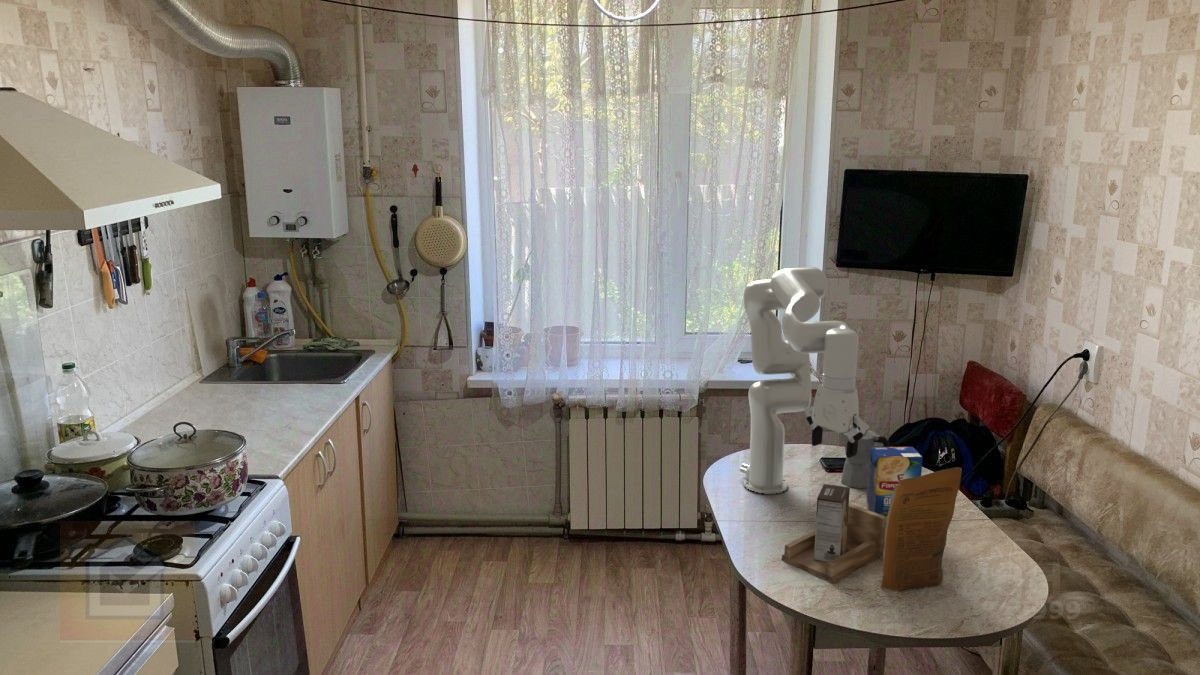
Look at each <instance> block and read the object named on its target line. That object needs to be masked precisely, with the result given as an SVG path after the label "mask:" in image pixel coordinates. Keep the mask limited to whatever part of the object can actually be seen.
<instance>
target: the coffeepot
mask: <svg viewBox="0 0 1200 675" xmlns="http://www.w3.org/2000/svg"><path fill="white" fill-rule="evenodd" d="M857 431H858V433H859V431H860V427H859V426H858V427H857ZM839 434H840V436H841V438H842V440H843V442H844V449H845V450H844V451H845V453H846V452H847V442H848V441H850V440H849V438H848V437H847V435H846V433H839ZM852 434H853V433H852ZM853 436H854V435H853ZM875 443H882V444H883V445H882V447H891V443H890V441H889V440H888V439H887V438H886V436H883V435H880V434H877V433H876V432H875V431H874V430H873V431H872V430H870V429H869V430H868V431H867V433H866V435H865V436H864V437H863V438H861V439H860V440H858V450H857V454H856V455H855V456H853V457H851V458H847V457H845V462H844V466H843V469H842V474H841V478H840V482H841V483H842V484H843V485H845V486H846V485H847V486H846V487H850V488H853V487H854V489H865V488H866V489H867V487H868V473H869V459H870V447H875V446H874V445H875Z"/></svg>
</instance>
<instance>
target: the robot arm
mask: <svg viewBox="0 0 1200 675" xmlns="http://www.w3.org/2000/svg"><path fill="white" fill-rule="evenodd" d="M825 274H826V273H824V272H823V270H821V268H818V267H814V266H813V267H812V266H809V267H787V268H783V269H780V270H777V271H776V272H774V273H773V275H772V276H771V278H769V279H768V278H767V279H759V280H754V281H751V282H749V283H748V284H747V285H746V287H745V289H744V292H743V305H744V310H745V312H746V316H747V319H748V322H749V327H750V339H751V340H750V341H751V360H752V361H751V362H752V367H753V370H754V372H756V374H759V375H762V376H769V375H770V376H771V375H789V376H790V378H773V379H762V380H759V381H755V382H754V383H752V384H751V385H750V387H749V390H748V394H747V395H748V404H749V411H750V412H749V413H750V439H749V440H750V442H749V464H748V463H742V465H741V467H740V468H739V471H740V473H742V474H745V477H744V479H743V484H744V485H743V487H744V486H745V487H746V488H745V487H744V488H745V489H747V490H748V489H749V490H748V491H750V490H752V491H755V492H754V493H756V492H758V493H757V494H761V493H764V494H763V495H776V493H777V494H781V493H783V491H784V492H785V491H786V490H788V488H787V487H788V485H789V484H788V483H789V482H788V481H787V480H786V479H785V478H783V477H784V457H785V435H786V434H785V433H786V431H785V430H786V429H785V426H784V424H783V422H782V421H781V419H779V417H778V414H785V413H796V412H803V411H804V413H805V416H806V421H807V422H808V423H809V425H810V426H809V427H810V429H811V446H813V447H816V446H819V445H821V444H822V443H823V432H824V429H827V430H830V431H833V432H836V433H839V434H840V433H846V435H847V437H848V438H849V440H850V441H848V442H847V452H845V456H846V457H847V458H851V457H853V456H855V455H856V454H857V450H858V440H860V439H861V438H863V437H864V436H865V435H866V433H867V431H868V430H870V425H868V423H866V422H865V421H864V420H863V419H862V418H861V417H860V413H859V412H860V410H859V409H860V408H859V407H860V406H859V395H858V389H857V388H856V380H857V379H856V377H857V366H858V355H859V354H858V353H859V341H860V340H859V334H858V333H857V331H855V330H853V329H851V328H850V327H849V325H848V324H847V323H846V322H844V321H842V320H826V321H825V320H820V321H819V320H818V321H817V320H816V321H810V320H811V319H812V318H814V317H815V316H816V314H817V313H818V312H819V310H820V307H821V299H823V298H824V297H825V295H826V293H827V291H828V287H829V286H828V279H827V276H826V275H825ZM775 310H776V311H783V310H784V312H783V314H782V319H781V320H780V319H779V318H778V317H777V315H776V314H775V313H774V311H775ZM782 334H783V335H782ZM783 336H784V339H785V340H784V339H783ZM821 353H823V358H822V359H823V360H822V362H823V363H822V371H820V372H819V373H818V378H821V382H820V383H819V384H818V385H817V389H816V392H815V397H814V401H813V402H814V403H813V405H812V406H811V403H812V376H811V357H810V354H821ZM858 426H859V427H860V431H859V433H858V431H857V428H858ZM852 433H853V434H852ZM853 435H854V436H853ZM846 457H845V458H846ZM752 491H751V492H752Z"/></svg>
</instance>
